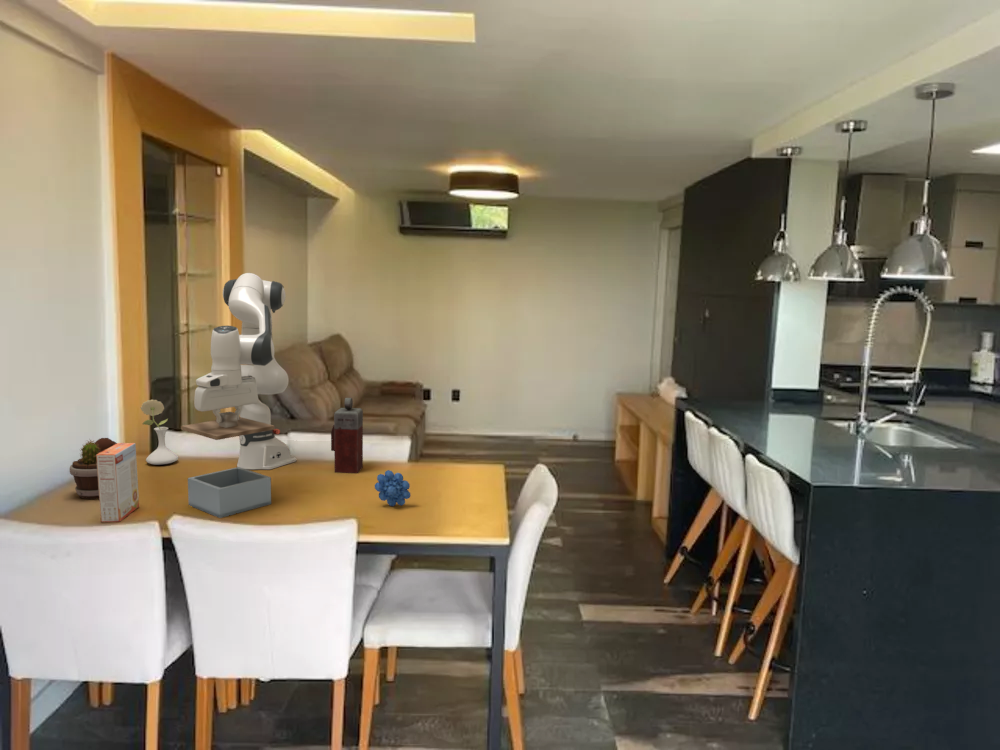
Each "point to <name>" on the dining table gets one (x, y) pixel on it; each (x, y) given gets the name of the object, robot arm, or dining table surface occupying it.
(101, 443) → the ice cream bowl
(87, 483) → the flowerpot
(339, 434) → the red grey canister
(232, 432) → the lid
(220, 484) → the bin
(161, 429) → the flower in vase
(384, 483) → the blue knobby flower shape
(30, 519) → the dining table surface
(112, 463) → the cracker box
